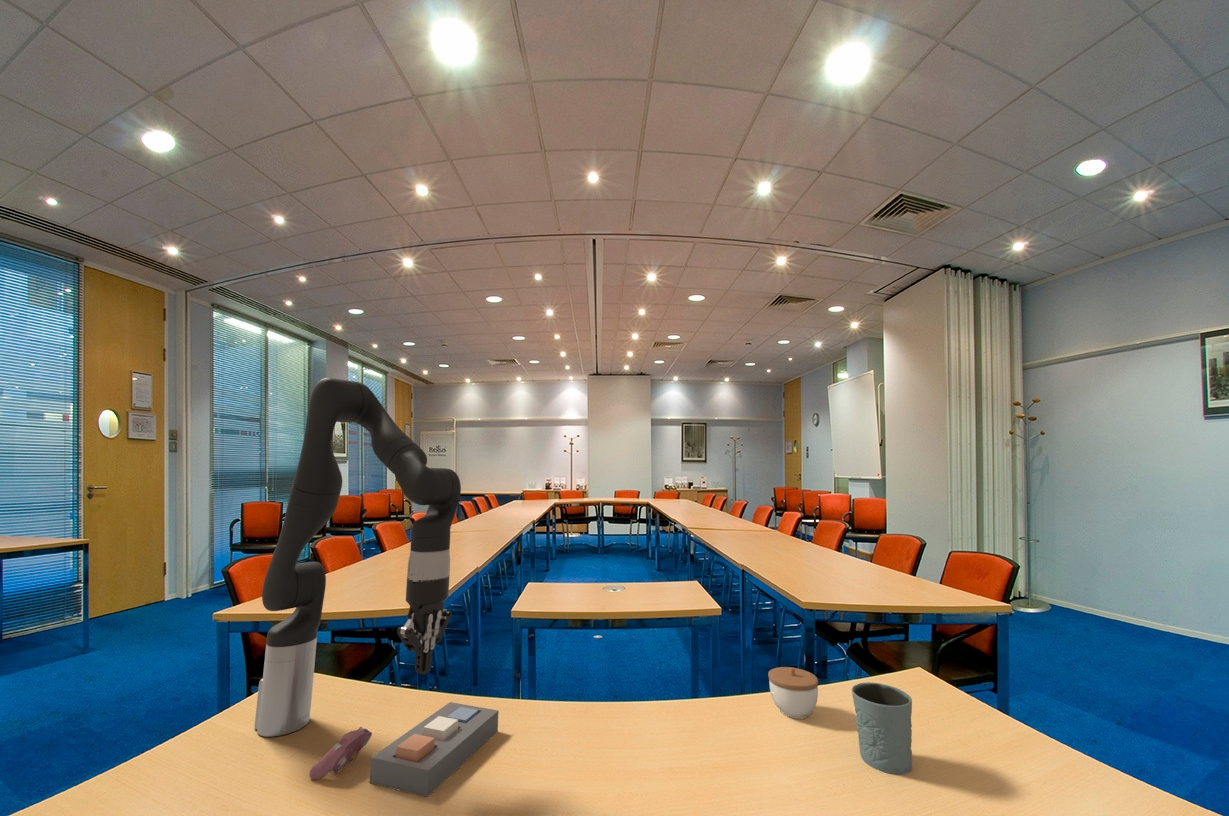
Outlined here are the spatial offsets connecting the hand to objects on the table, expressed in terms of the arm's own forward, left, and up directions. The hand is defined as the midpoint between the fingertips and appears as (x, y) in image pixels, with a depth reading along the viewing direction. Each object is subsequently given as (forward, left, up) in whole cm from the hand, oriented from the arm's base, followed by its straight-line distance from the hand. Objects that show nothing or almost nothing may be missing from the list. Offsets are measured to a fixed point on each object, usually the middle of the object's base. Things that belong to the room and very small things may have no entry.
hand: (422, 672), depth 88 cm
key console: (0, +6, -17) cm, 18 cm away
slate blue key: (0, +13, -15) cm, 20 cm away
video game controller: (-15, -2, -17) cm, 23 cm away
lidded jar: (+65, +46, -17) cm, 82 cm away
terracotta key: (0, -1, -14) cm, 14 cm away
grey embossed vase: (+81, +31, -17) cm, 88 cm away
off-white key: (0, +6, -14) cm, 15 cm away
